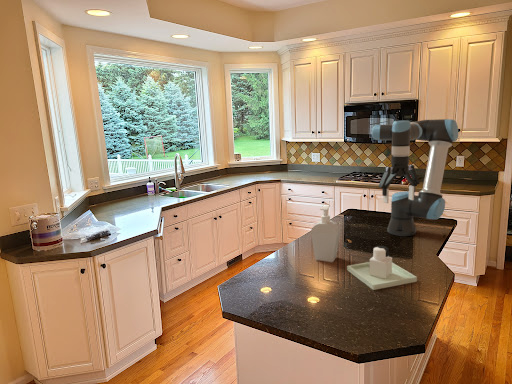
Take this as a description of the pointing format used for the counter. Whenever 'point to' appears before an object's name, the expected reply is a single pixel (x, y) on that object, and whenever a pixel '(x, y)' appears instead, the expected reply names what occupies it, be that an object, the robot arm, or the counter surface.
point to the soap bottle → (325, 237)
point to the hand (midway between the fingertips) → (398, 201)
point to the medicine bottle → (380, 262)
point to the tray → (395, 278)
